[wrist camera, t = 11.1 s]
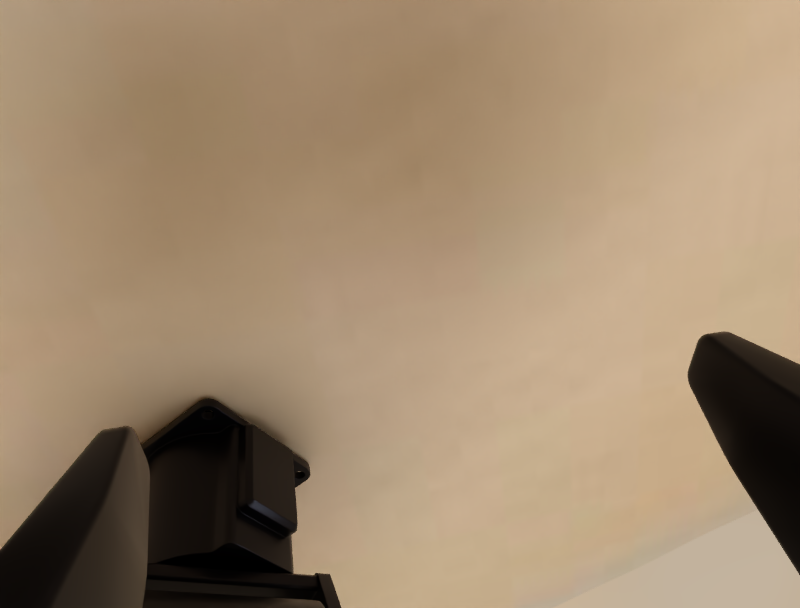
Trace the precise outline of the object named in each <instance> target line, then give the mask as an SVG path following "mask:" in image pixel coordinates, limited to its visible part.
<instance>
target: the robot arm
mask: <svg viewBox="0 0 800 608" xmlns="http://www.w3.org/2000/svg"><path fill="white" fill-rule="evenodd" d="M688 381H689V384H690V387H691V389H692V391H693V393H694V395H695V397H696V399H697V401H698V403H699V405H700V407H701V409H702V411H703V413H704V415H705V417H706V419H707V421H708V423H709V425H710V427H711V429H712V431H713V433H714V435H715V437H716V439H717V441H718V443H719V445H720V447H721V449H722V451H723V453H724V455H725V456H726V458H727V460H728V462H729V464H730V466H731V467H732V469H733V471H734V472H735V474H736V476H737V477H738V479H739V480H740V482H741V483H742V485H743V487H744V488H745V490H746V491H747V493H748V494H749V496H750V498H751V499H752V501H753V502H754V504H755V505H756V507H757V509H758V510H759V512H760V513H761V515H762V516H763V518H764V520H765V521H766V523H767V524H768V526H769V527H770V529H771V531H772V532H773V534H774V535H775V537H776V538H777V540H778V542H779V543H780V545H781V546H782V548H783V549H784V551H785V553H786V554H787V556H788V557H789V559H790V560H791V562H792V564H793V565H794V567H795V568H796V570H797V571H798V573H799V575H800V364H798V363H795V362H793V361H791V360H789V359H787V358H785V357H782V356H780V355H778V354H776V353H774V352H771V351H769V350H767V349H765V348H763V347H760V346H758V345H756V344H754V343H752V342H750V341H747V340H745V339H743V338H741V337H739V336H736V335H734V334H732V333H730V332H717V333H711V334H705V335H703V336H702V337H701V338H700V339H699V340H698V343H697V346H696V349H695V351H694V354H693V357H692V360H691V363H690V366H689V369H688ZM205 410H211V411H212V412H204V411H205ZM298 471H301V472H298ZM309 477H310V467H309V464H308V463H307V462H305V461H304V460H302V459H301V458H300V457H298V456H297V455H295V454H294V453H292V451H291V450H290V449H289V448H287V447H286V446H284V445H283V444H281V443H280V442H278V441H277V440H275V439H274V438H272V437H271V436H270V435H268V434H267V433H265V432H264V431H262V430H261V429H259V428H258V427H256V426H255V425H252V424H250V423H248V422H247V421H245V420H244V419H243V418H241V417H240V416H238V415H237V414H235V413H234V412H232V411H231V410H229V409H228V408H226V407H225V406H223V405H222V404H221V403H219V402H218V401H216V400H213V399H204V400H201V401H199V402H198V403H197V404H195V405H194V406H193V407H191V408H190V409H189V410H187V411H186V412H185V413H183V414H182V415H181V416H180V417H178V418H177V419H176V420H174V421H173V422H172V423H170V424H169V425H168V426H166V427H165V428H164V429H162V430H161V431H160V432H158V433H157V434H156V435H154V436H153V437H152V438H150V439H149V440H148V441H146V442H145V443H144V444H142V445H141V444H140V442H139V440H138V437H137V435H136V433H135V431H134V429H133V428H132V427H130V426H123V427H117V428H111V429H105V430H102V431H101V432H100V433H98V434H97V435H96V437H95V438H94V439H93V440H92V441H91V442H90V444H89V445H88V446H87V447H86V448H85V450H84V451H83V452H82V453H81V454H80V456H79V457H78V458H77V459H76V460H75V462H74V463H73V464H72V465H71V466H70V468H69V469H68V470H67V471H66V472H65V473H64V475H63V476H62V477H61V478H60V479H59V481H58V482H57V483H56V484H55V485H54V487H53V488H52V489H51V490H50V491H49V493H48V494H47V495H46V496H45V497H44V498H43V500H42V501H41V502H40V503H39V504H38V506H37V507H36V508H35V509H34V510H33V512H32V513H31V514H30V515H29V516H28V518H27V519H26V520H25V521H24V522H23V523H22V525H21V526H20V527H19V528H18V529H17V531H16V532H15V533H14V534H13V535H12V537H11V538H10V539H9V540H8V541H7V543H6V544H5V545H4V546H3V547H2V548H1V550H0V608H341V605H340V602H339V600H338V597H337V594H336V591H335V588H334V585H333V582H332V579H331V576H330V574H319V573H316V574H315V575H301V574H294V573H293V556H292V540H291V534H293V533H294V532H296V531H297V524H298V523H297V509H296V495H295V488H296V487H297V486H298V485H300V484H301V483H303V482H304V481H306V480H307V479H308V478H309Z"/></svg>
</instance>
